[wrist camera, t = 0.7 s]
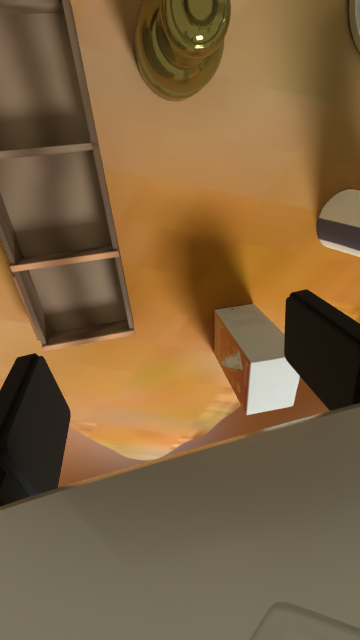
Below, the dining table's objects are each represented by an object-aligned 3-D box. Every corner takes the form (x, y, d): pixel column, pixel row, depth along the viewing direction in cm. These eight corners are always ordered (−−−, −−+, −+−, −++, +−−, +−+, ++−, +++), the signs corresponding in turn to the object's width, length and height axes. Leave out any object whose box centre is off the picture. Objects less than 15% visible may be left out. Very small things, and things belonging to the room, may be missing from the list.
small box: (212, 308, 41) (250, 362, 30) (254, 302, 42) (305, 352, 31) (212, 354, 45) (246, 417, 34) (250, 348, 46) (295, 406, 35)
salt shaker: (200, -12, 25) (246, -104, 17) (216, 91, 29) (260, 59, 21) (122, 11, 25) (126, -72, 16) (148, 112, 29) (163, 88, 20)
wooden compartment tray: (71, 4, 24) (63, -24, 21) (133, 320, 39) (135, 335, 36) (-76, 8, 23) (-111, -21, 19) (47, 335, 38) (40, 353, 34)
